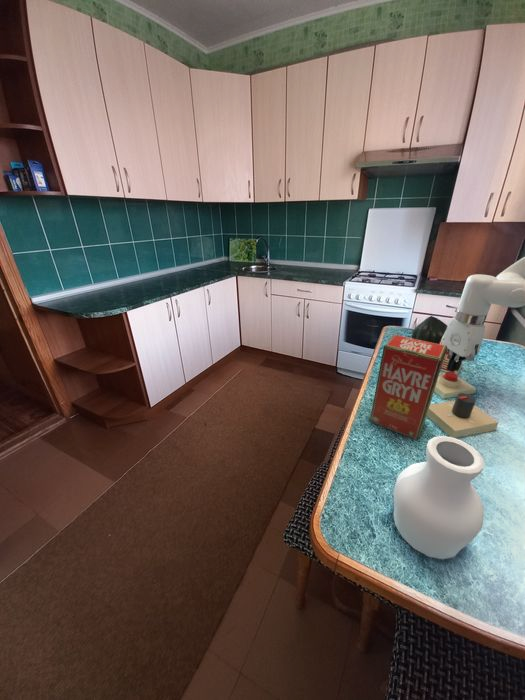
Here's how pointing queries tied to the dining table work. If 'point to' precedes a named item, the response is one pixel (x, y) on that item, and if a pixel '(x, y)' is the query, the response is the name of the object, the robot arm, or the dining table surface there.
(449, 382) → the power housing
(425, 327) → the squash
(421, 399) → the food packaging
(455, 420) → the panel
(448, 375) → the power button
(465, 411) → the timer dial
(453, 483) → the vase
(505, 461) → the dining table surface
